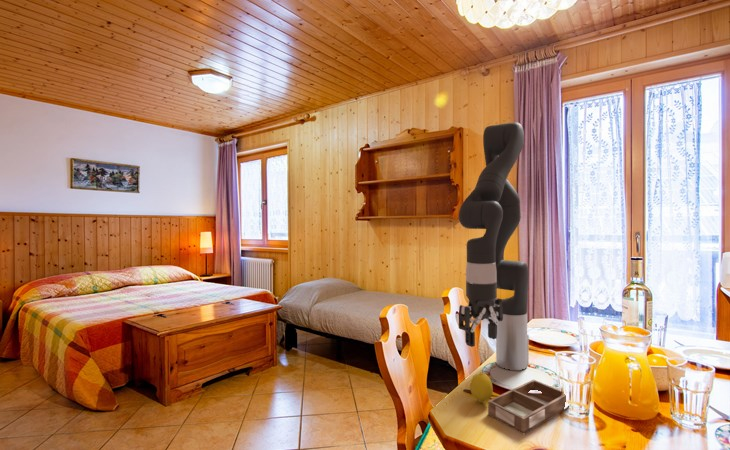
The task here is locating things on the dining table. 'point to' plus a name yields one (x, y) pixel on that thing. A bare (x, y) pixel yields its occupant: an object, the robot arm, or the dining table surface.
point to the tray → (527, 406)
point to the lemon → (481, 387)
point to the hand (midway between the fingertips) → (481, 341)
